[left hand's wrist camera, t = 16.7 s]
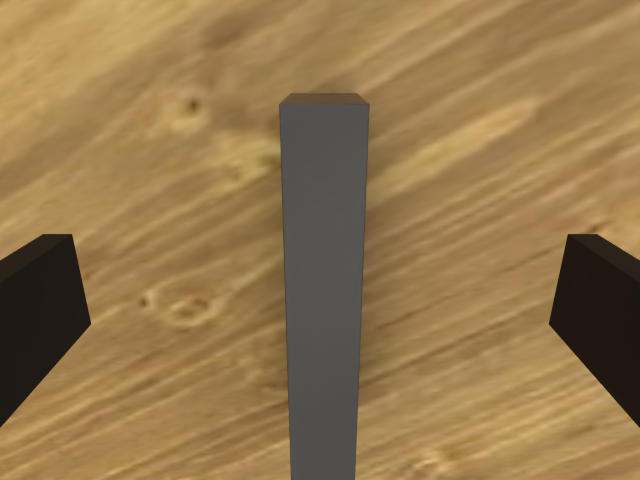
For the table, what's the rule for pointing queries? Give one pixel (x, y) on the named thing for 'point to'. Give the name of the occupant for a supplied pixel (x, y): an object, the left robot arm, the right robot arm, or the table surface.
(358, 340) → the bar
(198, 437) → the table surface
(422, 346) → the table surface
